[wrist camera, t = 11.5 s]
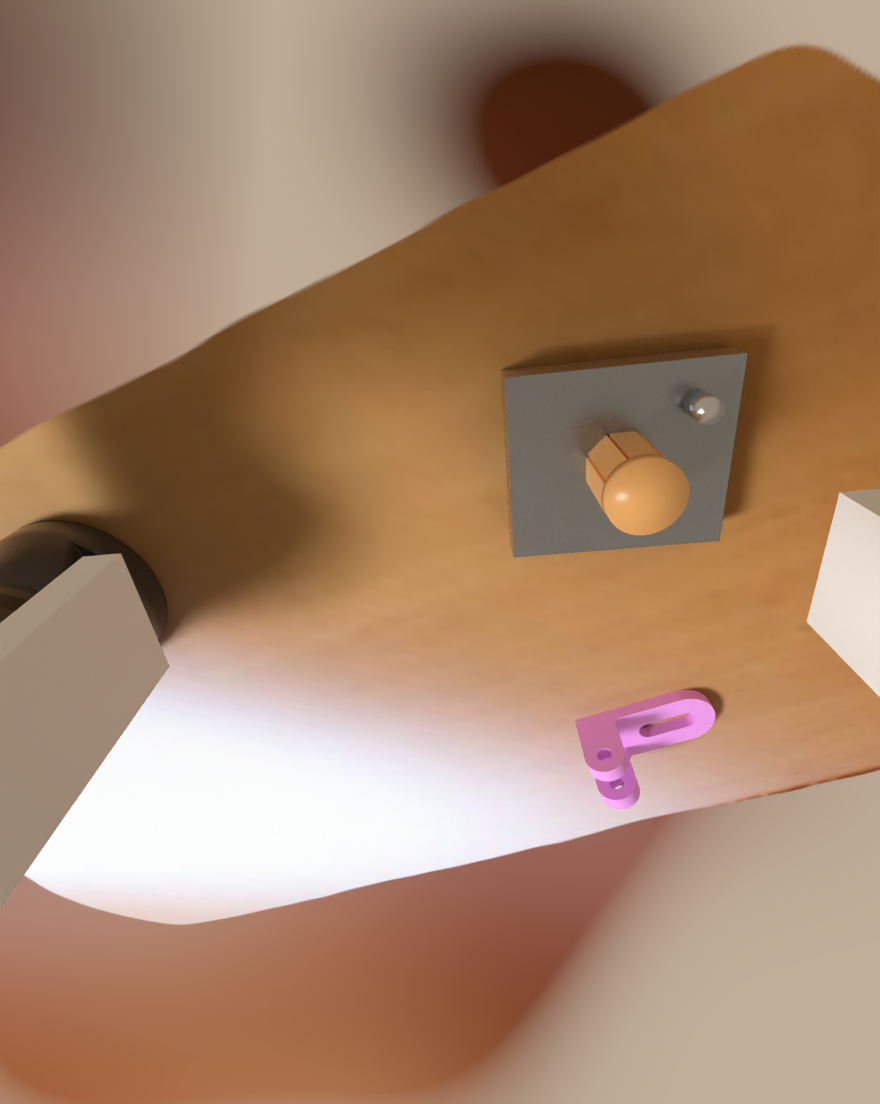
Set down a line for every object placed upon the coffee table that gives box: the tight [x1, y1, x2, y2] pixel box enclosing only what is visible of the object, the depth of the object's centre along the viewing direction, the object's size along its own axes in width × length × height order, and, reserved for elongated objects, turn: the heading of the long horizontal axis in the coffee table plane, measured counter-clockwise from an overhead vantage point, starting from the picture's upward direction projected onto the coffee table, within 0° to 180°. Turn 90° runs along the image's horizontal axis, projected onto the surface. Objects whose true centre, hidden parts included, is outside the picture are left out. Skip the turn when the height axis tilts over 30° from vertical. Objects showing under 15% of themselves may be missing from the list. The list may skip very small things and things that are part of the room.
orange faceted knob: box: [586, 431, 689, 535], centre depth 37 cm, size 5×5×6 cm
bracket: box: [575, 690, 715, 809], centre depth 53 cm, size 13×6×7 cm, turn 114°
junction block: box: [502, 346, 748, 557], centre depth 40 cm, size 16×14×7 cm
